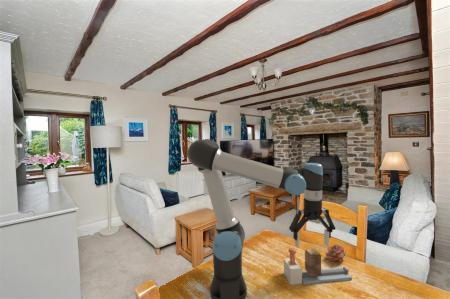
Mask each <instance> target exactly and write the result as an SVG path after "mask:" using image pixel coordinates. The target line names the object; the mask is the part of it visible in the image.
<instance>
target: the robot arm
mask: <svg viewBox="0 0 450 299" xmlns="http://www.w3.org/2000/svg"><path fill="white" fill-rule="evenodd" d="M187 158H188V161H189V162H190V163H191V164H192V165H193V166H195V167H196V168H197V170H198V172H199V173H201V174H202V175H203V178H204V183H205V186H206V188H207V192H208V196H209V198H210V203H211V205H212V209H213V212H214V216H215V218H216V224H215V226H214V228H215V230H216V233H217V234H216V235H215V237H213V241H212V258H213V259H212V261H213V277H212V280H211V283H210V287H209V292H210V295H211V296H210V295H209V296H210V298H211V297H212V298H211V299H246V298H247V296H246V295H247V294H248V288H247V282H246V281H245V278H244V275H243V262H242V260H243V255H242V254H243V249H244V242H245V239H246V234H245V229H244V227H243V226H242V224H241V221H240V219H239V217H236V216H235V214H234V209H233V207H232V206H233V205H232V203H231V199H230V196H229V193H228V190H227V187H226V182H225V179H224V176H223V173H226V174H231V175H233V176H236V177H240V178H243V179H247V180H250V181H254V182H256V183H261V184H263V185H267V186H271V187H274V188H276V189H280V190H282V191H285V192H287V193H289V194H290V195H292V196H299V195H300V196H301V194H303V208H302V209H298V208H297V209H296V212H295V216H294V217H293V219H292V221H291V223H290V225H289V227H288V228H289V229H288V230H289V231H290V232H291V233H292V234H293V240H294V245H295V247H296V248H297V249H299V248H300V236H301V235H300V231H301V229H302V228H303V227H304V225H305V224H306V223H307V222H309V221H317V220H318V221H319V222H320V223H321V224H322V225H323V226H324V228H325V229H323V230H324V231H323V245H325V246H326V247H330V239H331V237H332V233H333V230H336V226H335V224H334V221H333V220H332V217H331V216H330V210H329V209H327V208H326V207H323V200H322V199H323V182H324V181H323V178H324V177H323V176H324V172H323V165H322V164H320V163H318V162H305V163H304V165H303V167H277V166H273V165H269V164H267V163H262V162H259V161H255V160H252V159H248V158H245V157H241V156H239V155H234V154H232V153H228V152H225V151H223V150H222V149H221V148H220V145H219V144H218V143H217V142H216V141H214V140H213V139H210V138H209V139H208V138H205V139H198V140H195V141H193V142H191V143H190V145H189V146H188V148H187ZM222 172H223V173H222ZM322 214H323V215H324V218H325V220H326V221H327V222H326V221H325V220H324V218H323V217H322ZM327 223H328V224H327ZM245 297H246V298H245Z"/></svg>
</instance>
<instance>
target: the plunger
mask: <svg viewBox="0 0 450 299" xmlns="http://www.w3.org/2000/svg"><path fill="white" fill-rule="evenodd" d="M288 253H289V258H290V263H291V264H295V259H296V253H297V249H295V247H290V248H288Z"/></svg>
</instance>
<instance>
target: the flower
mask: <svg viewBox="0 0 450 299" xmlns="http://www.w3.org/2000/svg"><path fill="white" fill-rule="evenodd" d="M346 253H347V252H346V250H345V248H344V246H343V245H340V244H339V243H335V244H333V245H331V246H330V245H329V246H327V252H326V253H325V257H326V258H327V259H330V260H329V261H330V262H336V261H341V262H344V258H345V256H346Z"/></svg>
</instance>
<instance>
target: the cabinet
mask: <svg viewBox="0 0 450 299" xmlns="http://www.w3.org/2000/svg"><path fill="white" fill-rule="evenodd" d="M302 271H303V268H302V266H301V265H300V264H299V262H298V261H297V260H296V258H295V264H291V263H290V257H287V258H283V274H284V275H285V277H286V279H287V281H288V282H289V285H290V286H293V285H295V286H296V285H302V284H303V283H302Z"/></svg>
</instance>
